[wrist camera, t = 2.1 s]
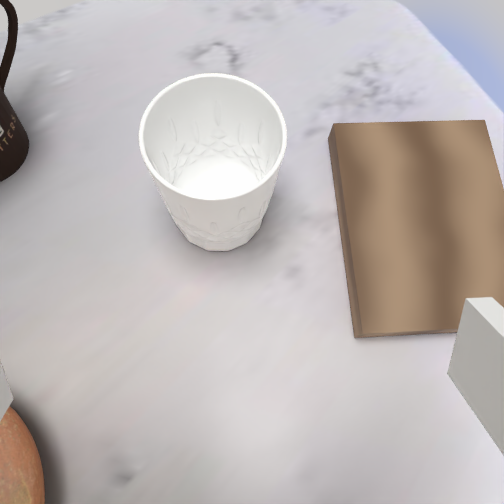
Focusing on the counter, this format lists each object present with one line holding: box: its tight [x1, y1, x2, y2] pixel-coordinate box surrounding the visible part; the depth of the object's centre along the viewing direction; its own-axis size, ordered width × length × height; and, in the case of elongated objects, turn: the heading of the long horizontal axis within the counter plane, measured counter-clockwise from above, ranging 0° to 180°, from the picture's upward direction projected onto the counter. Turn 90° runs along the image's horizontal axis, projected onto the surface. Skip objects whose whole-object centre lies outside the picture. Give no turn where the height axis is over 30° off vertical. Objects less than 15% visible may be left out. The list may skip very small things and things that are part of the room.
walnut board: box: [328, 120, 504, 338], centre depth 31 cm, size 12×16×2 cm
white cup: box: [139, 73, 287, 251], centre depth 27 cm, size 8×8×10 cm
